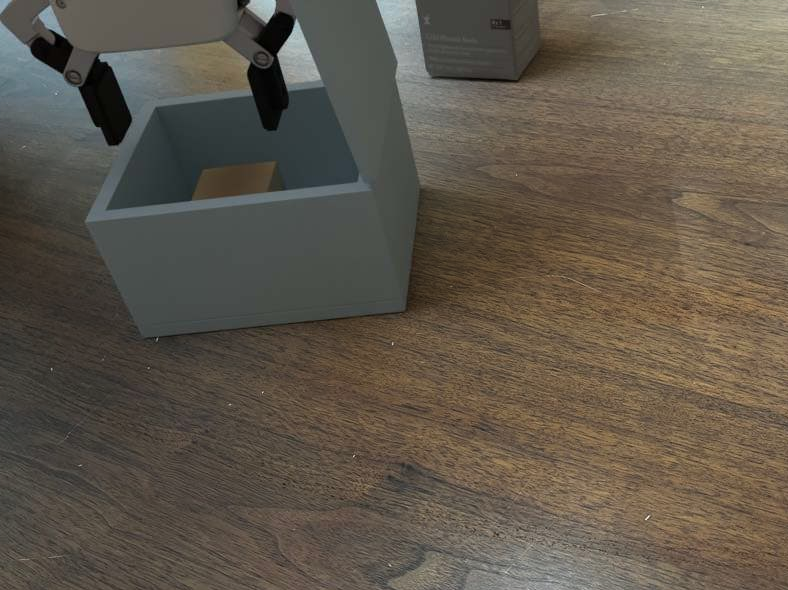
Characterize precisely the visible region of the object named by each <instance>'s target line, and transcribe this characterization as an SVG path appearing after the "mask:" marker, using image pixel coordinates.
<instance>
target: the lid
mask: <svg viewBox="0 0 788 590" xmlns="http://www.w3.org/2000/svg"><path fill="white" fill-rule="evenodd" d="M289 1H290V3H291V6H292V8H293V10H294V13H295V15H296V18H297V19H296V21H297V23H298V25H299V28H300V30H301V33H302V35H303V37H304V40H305V42H306V44H307V47H308V50H309V52H310V55H311V57H312V59H313V63H314V64H315V67H316V70H317V72H318V74H319V76H320V80H322V82H323V84H324V87H325V89H326V91H327V94H328V96H329V99H330V101H331V104H332V106H333V109H334V111H335V113H336V116H337V118H338V121H339V123H340V126H341V128H342V131H343V133H344V136H345V138H346V140H347V143H348V145H349V148H350V150H351V153H352V155H353V158H354V160H355V163H356V165H357V167H358V170H359V172H360V175H361V177H362V180H363V182H364V183H370V182H375V181H377V178H378V172H379V166H380V161H381V155H382V149H383V144H384V138H385V132H386V127H387V121H388V115H389V110H390V104H391V98H392V93H393V87H394V81H395V79H396V74H397V69H398V59H397V56H396V54H395V51H394V48H393V44H392V42H391V38H390V37H389V33H388V31H387V28H386V25H385V22H384V19H383V16H382V13H381V11H380V8H379V4H378V2H377V0H289Z"/></svg>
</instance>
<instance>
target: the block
mask: <svg viewBox="0 0 788 590" xmlns="http://www.w3.org/2000/svg"><path fill="white" fill-rule="evenodd" d="M285 190H286V188H285V185H284V182H283V179H282V176H281V173H280V170H279V167H278V164H277V162H276V161H273V162H264V163H255V164H246V165H238V166H229V167H220V168H212V169H204V170H203V171H202V174H201V176H200V179H199V181H198V184H197V186H196V189H195V192H194V194H193V197H192V199H191V201H196V200H205V199H214V198H223V197H232V196H241V195H249V194H258V193H267V192H276V191H285Z"/></svg>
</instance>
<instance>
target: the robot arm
mask: <svg viewBox="0 0 788 590" xmlns="http://www.w3.org/2000/svg"><path fill="white" fill-rule="evenodd" d="M274 1H275V8H274V11H273V14H272V15H271V17H270V18H269V20H268V21H267V22H266V21H265V20H263V19H262V18H261V17H260V16H258V15H257V14H256V13H254V12H253V11H252V10H251V9H249V7H247V6H248V5H250V4H251V0H10V2H8V3H7V5H6V6H5V8H3V10H2V11H1V13H0V22H1V24H2V25H3V26H4V27H5V28H6V29H7V31H9V32H10V33H11V34H12V35H14V37H15V38H17V40H18V41H19V42H21V43H22V44H23V45H26V46H27V47H28V48H29V51H30V53H31V56H33V58H35V59H36V60H38V61H39V62H41V63H42V64H44V65H46V66H48V67H49V68H51V69H53V70H54V71H56V72H58V73H59V74H61V75H62V77H63V80H64V81H65V83H66V84H67V85H69V86H71V87H73V88H77V89H78V91H79V94H80V96H81V98H82V100H83V103H84V105H85V108H86V109H87V112H88V115H89V116H90V119H91V121H92V123H93V125H94V126H95V127H96V128H100V130H101V132H102V136H103V138H104V139H105V142H106V144H107V146H108V147H115V146H120V144H122V143H123V140H124V139H125V137H126V135H127V132H128V131H129V130H130V129H129V128H130V127H131V125H132V123H133V117H132V113H131V110H130V108H129V106H128V103H127V101H126V99H125V97H124V94H123V91H122V89H121V86H120V84H119V82H118V79H117V77H116V74H115V71H114V69H113V67H112V66H111V65H109V63H108V61H101V59H100V56H101V55H102V54H118V53H128V52H140V51H149V50H158V49H159V50H160V49H170V48H178V47H188V46H197V45H207V44H211V43H212V44H213V43H218V42H224V43H225V44H226V45H228V46H229V47H230V48H231V49H232V50H234V51H235V52H236V53H238V54H239V55H241V56H242V57H243V58H245V59H246V60H247V61H248V62H249V65H248V68H247V70H246V77H247V80H248V84H249V87H250V89H251V91H252V94H253V97H254V100H255V103H256V107H257V110H258V113H259V116H260V119H261V123H262V126H263V128H264V129H266V130H267V131H276V130H277V128H278V125H279V122H280V118H281V115H282V112H283V110H285V109H287V108H288V105H289V96H288V91H287V87H286V84H287V83H286V80H285V78H284V74H283V71H282V67H281V64H280V60H279V57H278V54H279V53H280V51H281V50H282V48H283V46H285V44H286V43H287V41H288V39H289V38H290V37H291V35H292V33H293V31H294V28H295V25H296V22H297V18H296V15H295V13H294V10H293V8H292V6H291V3H290V1H289V0H274ZM49 7H51V10H52V11H53V14H54V17H55V18H56V19H55V20H56V21H57V23H58V25H59V27H60V29H61V32H62V33H63V35H61V34H59V32H56V31H55V30H53V29H51V28H48V27H46V26H45V25H46V24H45V23H44V22H43V21H42V20H41V18H40V16H39V15H40V14H42V12H43V11H45V10H46V9H47V8H49Z"/></svg>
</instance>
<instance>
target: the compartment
mask: <svg viewBox="0 0 788 590" xmlns="http://www.w3.org/2000/svg"><path fill="white" fill-rule="evenodd" d="M285 84H286V87H287V91H288V96H289V105H288V108H287V109H285V110H283V112H282V115H281V118H280V122H279V125H278V128H277V130H276V131H267V130H266V129H264V128H263V126H262V123H261V119H260V116H259V113H258V110H257V107H256V103H255V100H254V97H253V94H252V91H251V88H244V89H236V90H234V89H233V90H227V91H219V92H210V93H202V94H201V93H200V94H194V95H193V94H192V95H186V96H177V97H168V98H159V99H153V100H145V101H144V103H143V105H142V107H141V108H140V110H139V112H138V114H137V116H136V118H135V120H134V122H133V124H132V126H131V128H130V129H129V132H128V134H127V136H126V138H125V140H124V142H123V144H122V145H121V148H120V150H119V152H118V154H117V156H116V158H115V160H114V162H113V164H112V166H111V168H110V170H109V172H108V174H107V176H106V178H105V180H104V182H103V184H102V186H101V188H100V191H99V192H98V194H97V196H96V198H95V200H94V202H93V204H92V206H91V208H90V210H89V212H88V215H87V217H86V219H85V220H84V224H85V226H86V228H87V230H88V232H89V234H90V236H91V238H92V239H93V242H94V245H96V248H97V250H98V252H99V254H100V255H101V258H102V260H103V261H104V264H105V265H106V268H107V270H108V272H109V274H110V276H111V278H112V279H113V282H114V283H115V285H116V288H117V289H118V291H119V294H120V296H121V297H122V299H123V301H124V303H125V305H126V308H127V309H128V311H129V313H130V315H131V317H132V319H133V321H134V323H135V325H136V327H137V329H138V331H139V332H140V333H139V334H140V335H141V337H142V338H143V339H148V338H149V339H150V338H159V337H169V336H178V335H179V336H180V335H188V334H197V333H198V334H199V333H208V332H217V331H225V330H226V331H227V330H237V329H245V328H246V329H247V328H255V327H257V328H258V327H266V326H274V325H275V326H276V325H284V324H285V325H287V324H294V323H295V324H296V323H305V322H315V321H325V320H334V319H343V318H353V317H354V318H355V317H363V316H371V315H372V316H374V315H384V314H392V313H393V314H394V313H403V312H406V309H407V301H408V292H409V285H410V276H411V270H412V262H413V261H412V260H413V251H414V246H415V245H414V244H415V236H416V227H417V219H418V212H419V204H420V197H421V196H420V195H421V187H422V185H421V182H420V176H419V172H418V169H417V168H418V167H417V164H416V161H415V160H416V159H415V156H414V151H413V148H412V142H411V140H410V138H411V137H410V134H409V130H408V126H407V122H406V118H405V113H404V109H403V104H402V100H401V97H400V92H399V87H398V83H397V79H396V78H395V81H394V87H393V93H392V98H391V104H390V110H389V115H388V121H387V127H386V132H385V138H384V144H383V149H382V155H381V161H380V166H379V172H378V178H377V181H375V182H370V183H364V182H363V180H362V177H361V175H360V172H359V170H358V167H357V165H356V163H355V160H354V158H353V155H352V153H351V150H350V148H349V145H348V143H347V140H346V138H345V136H344V133H343V131H342V128H341V126H340V123H339V121H338V118H337V116H336V113H335V111H334V109H333V106H332V104H331V101H330V99H329V96H328V94H327V91H326V89H325V87H324V84H323V82H322V79H318V80H309V81H300V82H293V83H285ZM273 161H276V162H277V164H278V167H279V170H280V173H281V176H282V179H283V182H284V185H285V188H286V190H285V191H276V192H267V193H258V194H249V195H241V196H232V197H223V198H214V199H205V200H196V201H191V199H192V197H193V194H194V192H195V189H196V186H197V184H198V181H199V179H200V176H201V174H202V171H203V170H204V169H212V168H220V167H229V166H238V165H246V164H255V163H264V162H273Z"/></svg>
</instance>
